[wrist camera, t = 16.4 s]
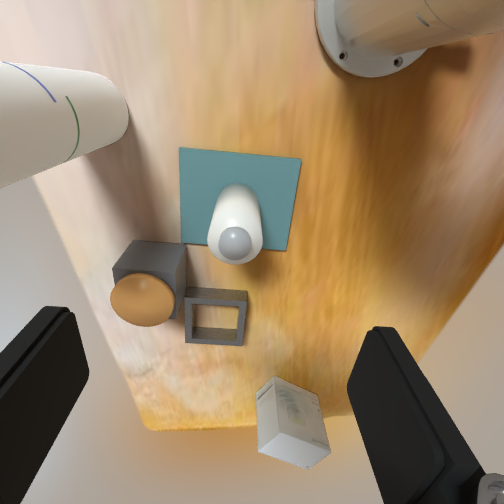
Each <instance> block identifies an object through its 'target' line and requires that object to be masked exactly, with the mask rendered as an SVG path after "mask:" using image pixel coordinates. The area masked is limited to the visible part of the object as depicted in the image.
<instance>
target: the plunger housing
mask: <svg viewBox="0 0 504 504" xmlns="http://www.w3.org/2000/svg"><path fill="white" fill-rule="evenodd" d="M112 270H113V277H114V283H115V285H116V284H117V283H118V281H119V280H120V279H122V278H123V277H125V276H127V275H130V274H136V273H142V274H149V275H152V276H155V277H157V278H159V279H161V280H165V283H166V284H167V285H168V286H169V287H170V289H171V290H172V292H173V294H174V299H175V303H174V307H173V310H172V313H171V315H170V317H169V318H168V319H177V316H178V313H179V310H180V307H181V303H182V300H183V297H184V293H185V290H186V287H187V274H186V244H178V243H164V242H151V241H138V240H133V241H132V242H131V244H130V245H129V246H128V248H127V249H126V250H125V252H124V253H123V254H122V256H121V257H120V258H119V260H118V261H117V262H116V264H115V265H114V266H113V268H112Z"/></svg>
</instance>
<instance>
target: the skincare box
mask: <svg viewBox="0 0 504 504" xmlns="http://www.w3.org/2000/svg"><path fill="white" fill-rule="evenodd" d="M256 409H257V441H258V452H260V453H263V454H266V455H269V456H272V457H274V458H277V459H280V460H282V461H285V462H288V463H291V464H293V465H296V466H299V467H302V468H305V469H307V470H308V469H310V468H311V467H312V466H314V465H315V464H316V463H318V462H319V461H321V460H322V459H323V458H325V457H326V456H327V455H328V454H330V453H331V450H330V446H329V442H328V438H327V434H326V430H325V426H324V422H323V417H322V413H321V409H320V405H319V400H318V396H317V395H316V394H313V393H311V392H309V391H307V390H305V389H302V388H300V387H298V386H296V385H294V384H292V383H289V382H287V381H285V380H283V379H281V378H279V377H276V376H273V377H272V378H271V379H270V380H269V381H268V382H267V383H266V384H265V385H264V386H263V387H262V388H261V389H260V390H258V391H257V392H256Z"/></svg>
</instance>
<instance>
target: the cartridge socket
mask: <svg viewBox="0 0 504 504" xmlns="http://www.w3.org/2000/svg"><path fill="white" fill-rule="evenodd" d="M194 304H207V305H222V306H238V307H239V310H238V321H237V329H222V328H205V327H194ZM246 307H247V291H241V290H227V289H212V288H197V287H187V290H186V293H185V297H184V310H185V343H197V344H215V345H232V346H242V343H243V334H244V325H245V316H246Z"/></svg>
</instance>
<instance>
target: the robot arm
mask: <svg viewBox="0 0 504 504" xmlns="http://www.w3.org/2000/svg"><path fill="white" fill-rule="evenodd" d="M314 11H315V20H316V27H317V31H318V35H319V38H320V41H321V43H322V45H323V47H324V49H325V51H326V53H327V54H328V56H329V57H330V58H331V60H332V61H333V62H334V63H335V64H336V65H337V66H339V67H340V68H341V69H342V70H344V71H346V72H348V73H350V74H352V75H355V76H360V77H381V76H386V75H389V74H392V73H396V72H398V71H400V70H401V69H403V68H405V67H407V66H409V65H410V64H411V63H413V62H414V61H415V60H416V59H418V58H419V57H420V56H421V55H422V54H423V53H424V52H425V51H426V50H427V49H428V48H430V47H435V46H439V45H443V44H448V43H452V42H457V41H461V40H465V39H470V38H474V37H479V36H483V35H487V34H491V33H495V32H499V31H503V30H504V0H315V10H314ZM341 53H342V54H343V55H344V57H343V59H340V58H339V56H340V54H341ZM395 60H396V61H397V63H396V65H394V61H395ZM88 377H89V368H88V364H87V360H86V356H85V352H84V348H83V344H82V340H81V337H80V333H79V329H78V325H77V321H76V317H75V314H74V313H73V312H70V310H69V309H68V308H67V307H56V306H54V307H53V306H45V307H43V308H42V309H41V310H40V311H39V312H38V313H37V314H36V316H34V318H33V319H32V320H31V321H30V322H29V323H28V324H27V325H26V326H25V327H24V329H22V330H21V332H20V333H19V334H18V335H17V336H16V337H15V338H14V339H13V340H12V341H11V342H10V343H9V344H8V345H7V346H6V348H5V349H4V350H3V351H2V352H1V353H0V504H20V503H21V501H22V499H23V498H24V496H25V494H26V493H27V491H28V489H29V487H30V485H31V483H32V482H33V479H34V478H35V476H36V474H37V472H38V470H39V469H40V467H41V465H42V463H43V461H44V459H45V458H46V456H47V454H48V452H49V450H50V449H51V447H52V445H53V443H54V441H55V439H56V438H57V436H58V434H59V432H60V430H61V428H62V427H63V425H64V423H65V421H66V419H67V417H68V416H69V414H70V412H71V410H72V408H73V407H74V405H75V403H76V401H77V399H78V397H79V395H80V394H81V392H82V390H83V388H84V386H85V385H86V383H87V380H88ZM347 393H348V396H349V399H350V402H351V405H352V408H353V412H354V415H355V417H356V421H357V424H358V427H359V430H360V433H361V435H362V438H363V442H364V445H365V448H366V451H367V454H368V457H369V460H370V463H371V466H372V469H373V472H374V475H375V478H376V481H377V484H378V487H379V490H380V493H381V496H382V499H383V502H384V504H504V475H500V474H497V473H492V474H486V473H485V472H484V470H483V468H482V467H481V465H480V464H479V462H478V460H477V459H476V457H475V456H474V454H473V453H472V451H471V449H470V448H469V446H468V444H467V443H466V441H465V440H464V438H463V436H462V435H461V434H460V431H459V430H458V428H457V427H456V425H455V424H454V422H453V420H452V419H451V417H450V415H449V414H448V413H447V411H446V409H445V407H444V406H443V404H442V403H441V401H440V399H439V398H438V396H437V395H436V393H435V391H434V390H433V388H432V386H431V385H430V383H429V382H428V380H427V378H426V377H425V376H424V374H423V373H422V371H421V370H420V368H419V366H418V365H417V363H416V362H415V360H414V358H413V357H412V355H411V353H410V352H409V350H408V349H407V347H406V345H405V344H404V342H403V341H402V339H401V337H400V336H399V334H398V332H397V331H396V330H395V328H393V327H379V326H375V327H373V329H372V330H369V331H368V332H367V334H366V336H365V339H364V341H363V344H362V347H361V349H360V352H359V354H358V357H357V360H356V362H355V365H354V367H353V370H352V372H351V375H350V378H349V380H348V383H347Z"/></svg>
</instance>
